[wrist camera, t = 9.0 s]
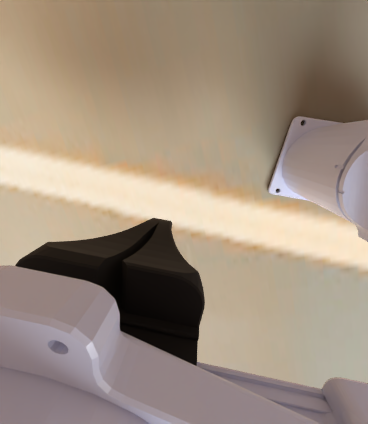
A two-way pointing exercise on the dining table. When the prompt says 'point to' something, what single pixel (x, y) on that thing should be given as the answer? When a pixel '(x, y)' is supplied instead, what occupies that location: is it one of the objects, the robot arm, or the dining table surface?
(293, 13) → the dining table surface
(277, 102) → the dining table surface
